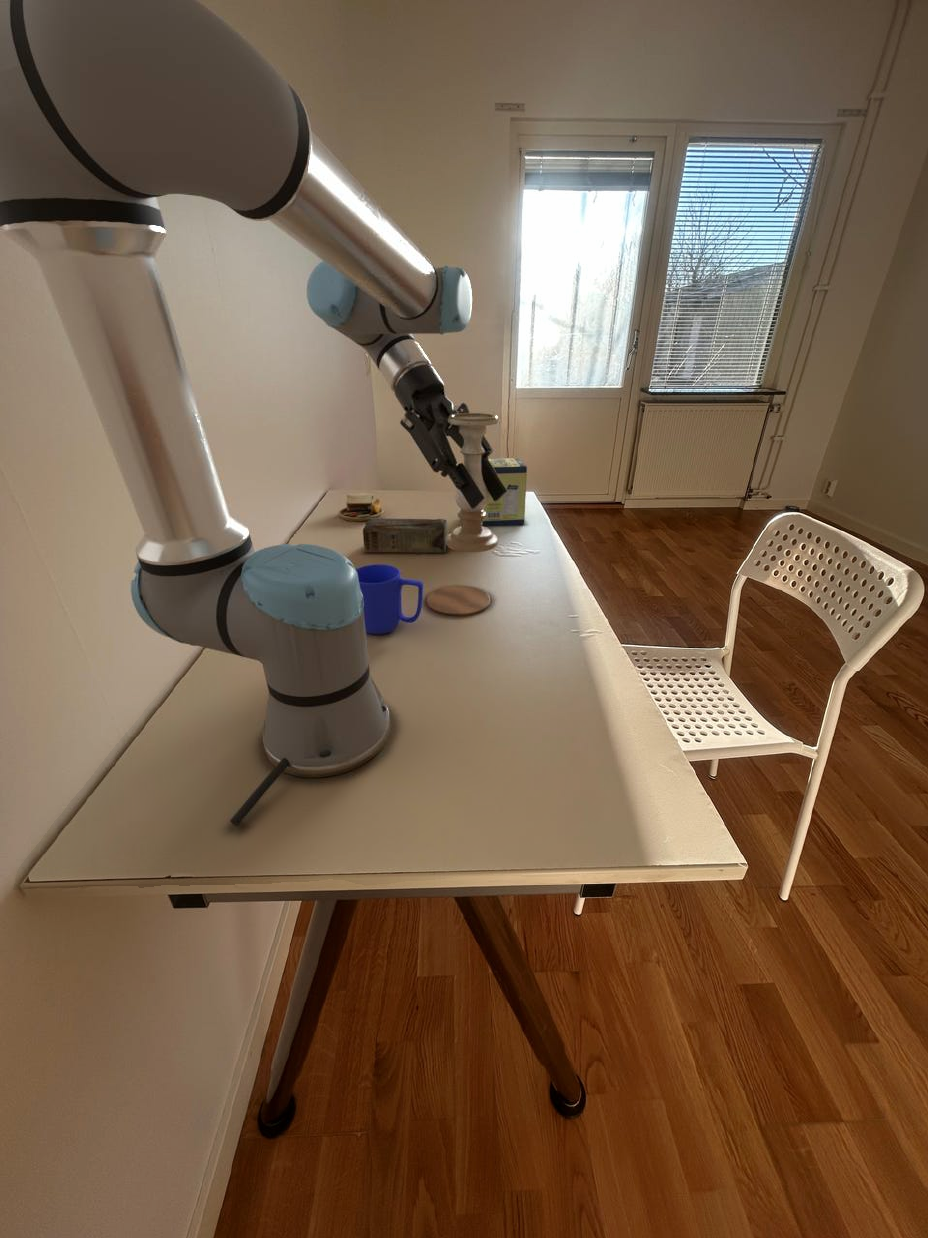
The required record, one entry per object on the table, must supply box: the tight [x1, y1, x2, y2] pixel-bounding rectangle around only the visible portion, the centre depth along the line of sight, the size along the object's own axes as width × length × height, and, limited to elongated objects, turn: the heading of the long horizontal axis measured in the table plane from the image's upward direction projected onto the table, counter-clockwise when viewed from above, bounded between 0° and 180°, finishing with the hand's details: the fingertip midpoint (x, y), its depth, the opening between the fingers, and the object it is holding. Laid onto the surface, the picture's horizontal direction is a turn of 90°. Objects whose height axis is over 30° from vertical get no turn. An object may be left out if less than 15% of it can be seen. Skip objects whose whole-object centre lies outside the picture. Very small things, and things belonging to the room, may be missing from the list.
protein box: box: [482, 457, 528, 527], centre depth 137 cm, size 10×16×16 cm
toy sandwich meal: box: [337, 492, 384, 522], centre depth 145 cm, size 12×14×5 cm
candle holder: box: [446, 412, 499, 553], centre depth 82 cm, size 9×9×20 cm
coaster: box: [426, 585, 491, 617], centre depth 97 cm, size 12×12×1 cm
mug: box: [355, 563, 424, 635], centre depth 86 cm, size 8×12×10 cm
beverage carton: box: [362, 517, 448, 554], centre depth 121 cm, size 8×19×7 cm, turn 90°
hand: (489, 499), depth 81 cm, fingers closed on candle holder, 5 cm apart
